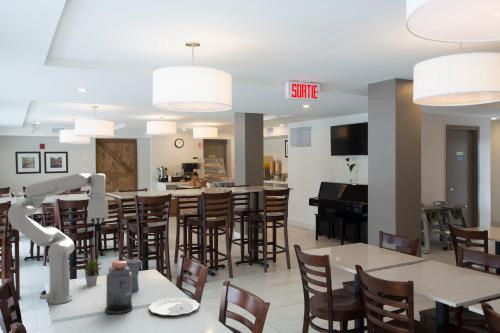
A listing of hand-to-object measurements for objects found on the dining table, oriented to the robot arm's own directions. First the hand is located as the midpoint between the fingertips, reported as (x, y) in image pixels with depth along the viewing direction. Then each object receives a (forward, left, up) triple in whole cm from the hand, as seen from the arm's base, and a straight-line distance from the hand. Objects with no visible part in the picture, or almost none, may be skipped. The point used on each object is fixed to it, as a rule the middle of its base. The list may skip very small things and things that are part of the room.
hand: (97, 230), depth 223 cm
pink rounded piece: (+7, -21, -19) cm, 29 cm away
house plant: (+1, +28, -37) cm, 47 cm away
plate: (+32, -32, -38) cm, 59 cm away
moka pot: (+19, +8, -37) cm, 43 cm away
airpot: (+7, -21, -37) cm, 43 cm away
